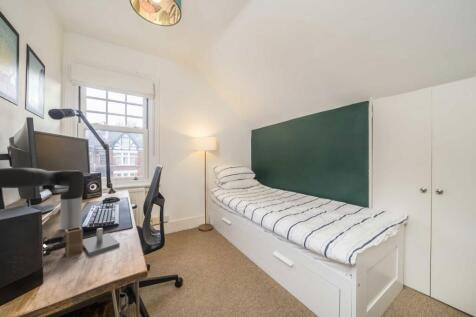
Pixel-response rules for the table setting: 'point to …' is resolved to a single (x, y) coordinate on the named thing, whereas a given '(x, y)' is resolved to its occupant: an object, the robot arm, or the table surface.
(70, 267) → the table surface
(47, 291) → the table surface
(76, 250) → the sleeve
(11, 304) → the table surface
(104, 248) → the plate
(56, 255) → the table surface
